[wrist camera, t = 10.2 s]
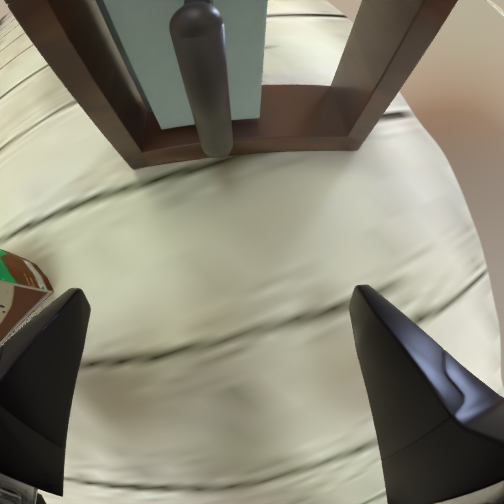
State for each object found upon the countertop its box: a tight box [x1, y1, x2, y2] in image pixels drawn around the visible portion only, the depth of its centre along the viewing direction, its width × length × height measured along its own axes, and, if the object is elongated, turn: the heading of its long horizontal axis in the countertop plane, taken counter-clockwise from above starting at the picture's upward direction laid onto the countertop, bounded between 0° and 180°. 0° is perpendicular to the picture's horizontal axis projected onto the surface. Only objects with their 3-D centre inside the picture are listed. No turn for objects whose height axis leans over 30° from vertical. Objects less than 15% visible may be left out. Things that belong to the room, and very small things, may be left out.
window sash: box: [103, 0, 268, 158], centre depth 8 cm, size 6×4×11 cm
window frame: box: [4, 0, 458, 169], centre depth 9 cm, size 15×4×15 cm, turn 96°
